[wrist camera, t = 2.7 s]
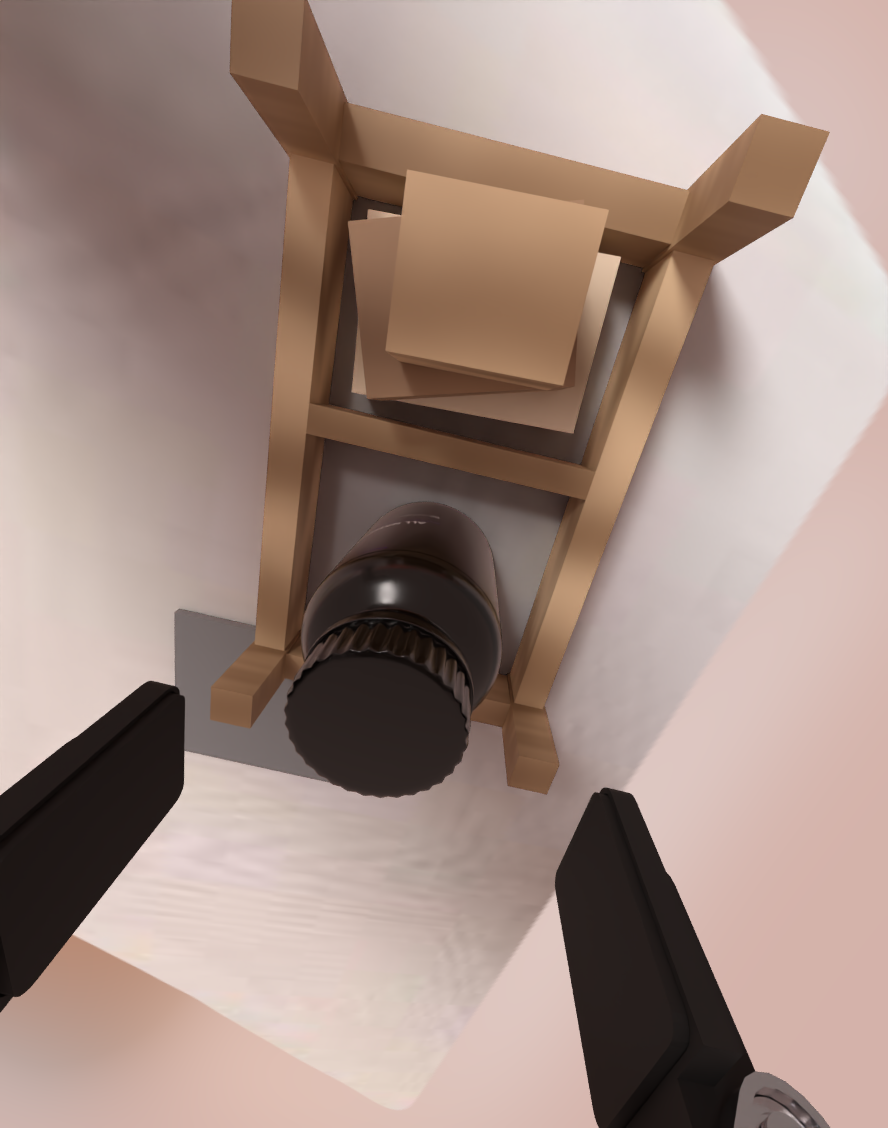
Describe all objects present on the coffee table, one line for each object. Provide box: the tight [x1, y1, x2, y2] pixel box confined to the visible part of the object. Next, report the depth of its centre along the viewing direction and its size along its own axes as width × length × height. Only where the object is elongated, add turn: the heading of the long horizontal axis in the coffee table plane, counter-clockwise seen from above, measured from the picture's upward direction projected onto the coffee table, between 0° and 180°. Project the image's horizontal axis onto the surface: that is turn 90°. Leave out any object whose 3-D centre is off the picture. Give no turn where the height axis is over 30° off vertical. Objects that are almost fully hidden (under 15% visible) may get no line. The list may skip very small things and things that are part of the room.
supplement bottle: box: [284, 502, 502, 798], centre depth 16 cm, size 7×7×12 cm
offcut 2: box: [348, 200, 584, 401], centre depth 14 cm, size 5×7×2 cm
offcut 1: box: [385, 169, 609, 390], centre depth 12 cm, size 4×5×2 cm
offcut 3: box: [352, 209, 621, 434], centre depth 17 cm, size 6×9×3 cm, turn 80°
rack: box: [210, 0, 829, 794], centre depth 17 cm, size 23×15×6 cm, turn 167°
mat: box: [175, 609, 329, 782], centre depth 25 cm, size 10×10×1 cm
